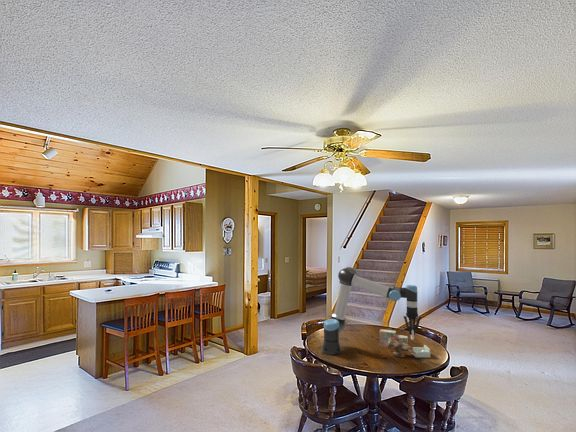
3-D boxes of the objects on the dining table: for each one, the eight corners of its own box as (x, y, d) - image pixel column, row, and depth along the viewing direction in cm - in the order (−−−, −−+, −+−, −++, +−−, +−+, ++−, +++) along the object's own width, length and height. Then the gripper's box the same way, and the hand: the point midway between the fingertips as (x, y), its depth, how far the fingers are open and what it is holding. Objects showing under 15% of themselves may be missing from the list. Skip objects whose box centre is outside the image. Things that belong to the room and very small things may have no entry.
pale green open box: (415, 357, 245) (415, 349, 246) (410, 352, 255) (410, 344, 256) (430, 357, 245) (430, 349, 245) (425, 352, 255) (425, 344, 255)
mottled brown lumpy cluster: (390, 351, 243) (393, 341, 243) (385, 345, 254) (388, 337, 254) (414, 359, 242) (416, 349, 242) (408, 353, 253) (411, 344, 254)
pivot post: (396, 356, 247) (396, 345, 247) (393, 352, 255) (393, 341, 255) (404, 356, 246) (404, 345, 247) (401, 352, 255) (401, 341, 255)
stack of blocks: (408, 348, 266) (408, 332, 267) (407, 350, 261) (407, 334, 261) (380, 343, 276) (380, 328, 276) (379, 346, 270) (379, 330, 271)
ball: (423, 349, 249) (427, 351, 249) (421, 348, 252) (425, 349, 252) (421, 354, 249) (425, 356, 248) (419, 352, 252) (424, 354, 252)
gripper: (404, 307, 242) (404, 340, 241) (422, 307, 242) (423, 341, 241) (401, 305, 250) (401, 337, 249) (419, 305, 249) (419, 337, 248)
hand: (412, 339), depth 245 cm, fingers closed
